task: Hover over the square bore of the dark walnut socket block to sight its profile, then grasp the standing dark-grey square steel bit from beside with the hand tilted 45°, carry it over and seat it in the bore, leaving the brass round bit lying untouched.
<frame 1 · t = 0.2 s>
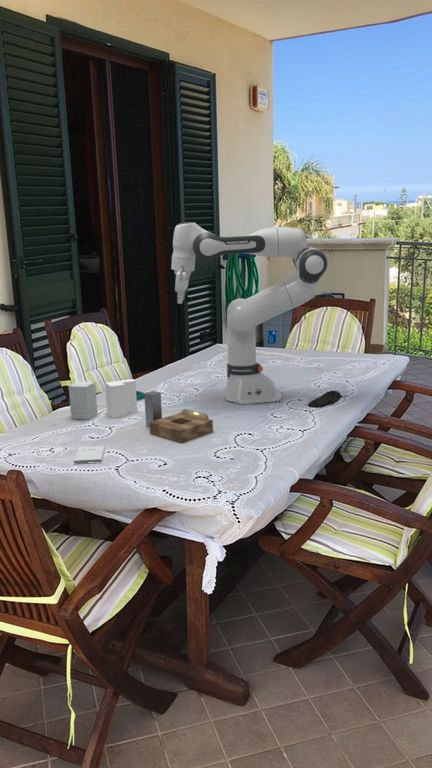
hand: (180, 301, 252), 39 cm above the table, tool pointing down, fingers open, 8 cm apart
corner bracket: (121, 412, 247), on the table
external hard drive: (90, 458, 202), on the table
round bit: (194, 422, 233), on the table
square bit: (154, 426, 229), on the table
digital multimeter: (127, 402, 263), on the table
dark elongated pod: (327, 402, 255), on the table
socket block: (181, 432, 222), on the table
supplement box: (84, 417, 242), on the table
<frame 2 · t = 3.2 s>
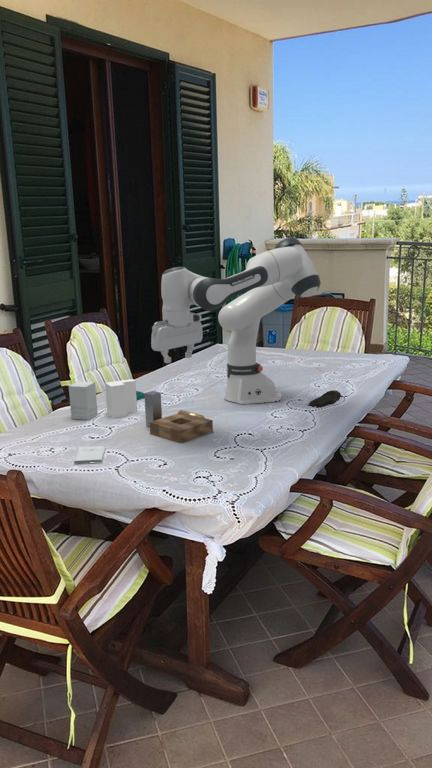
hand: (178, 360, 215), 25 cm above the table, tool pointing down, fingers open, 8 cm apart
round bit: (194, 419, 233), point 1 cm above the table, tilted 59°
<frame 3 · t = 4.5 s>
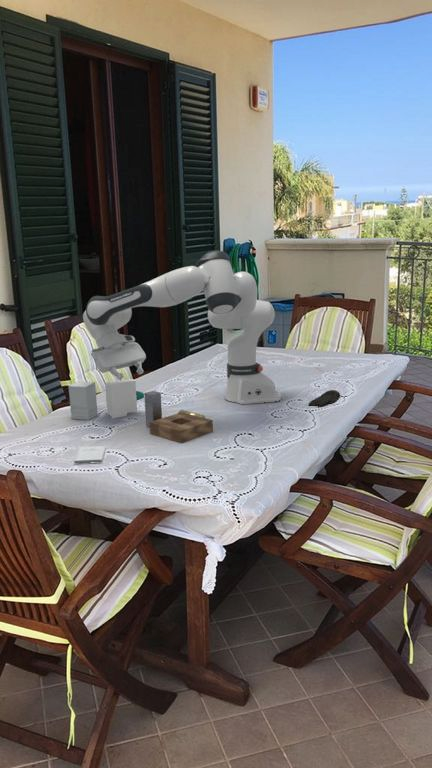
hand: (131, 375, 232), 17 cm above the table, tool tilted 45°, fingers open, 8 cm apart
round bit: (194, 420, 233), on the table, tilted 49°
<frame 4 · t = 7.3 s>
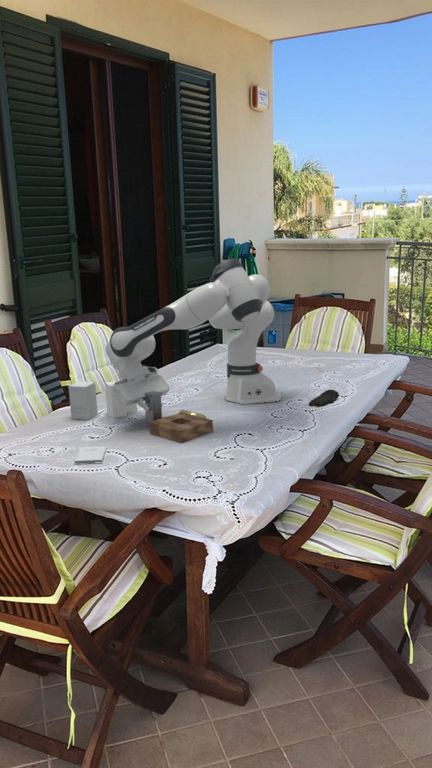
hand: (154, 408, 227), 6 cm above the table, tool tilted 45°, fingers closed on square bit, 4 cm apart
round bit: (194, 421, 233), on the table, tilted 37°
square bit: (154, 426, 229), on the table, touching gripper
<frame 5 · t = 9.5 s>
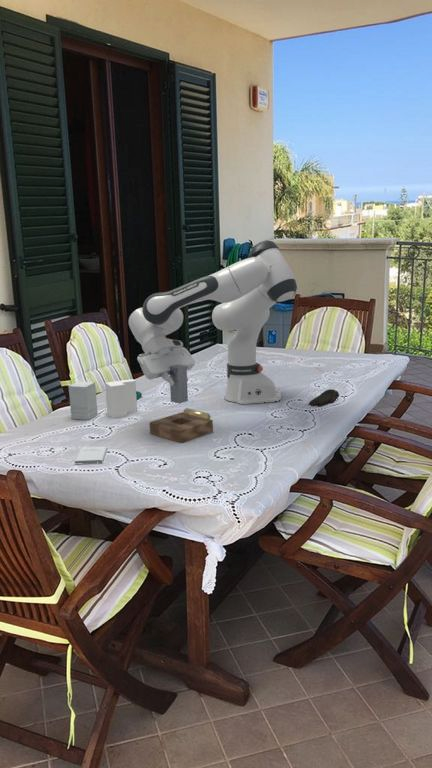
hand: (180, 382, 217), 17 cm above the table, tool tilted 45°, fingers closed on square bit, 4 cm apart
round bit: (194, 421, 233), on the table, tilted 27°
square bit: (179, 401, 219), point 11 cm above the table, touching gripper
when the fingers open (8 cm above the table, at t = 12.0 s): square bit drops 2 cm, resting in socket block.
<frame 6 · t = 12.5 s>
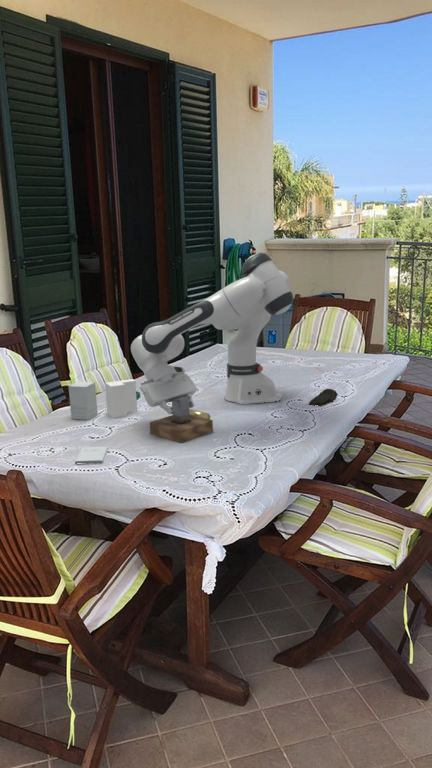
hand: (182, 409, 219), 8 cm above the table, tool tilted 45°, fingers open, 8 cm apart
square bit: (181, 432, 222), resting in socket block
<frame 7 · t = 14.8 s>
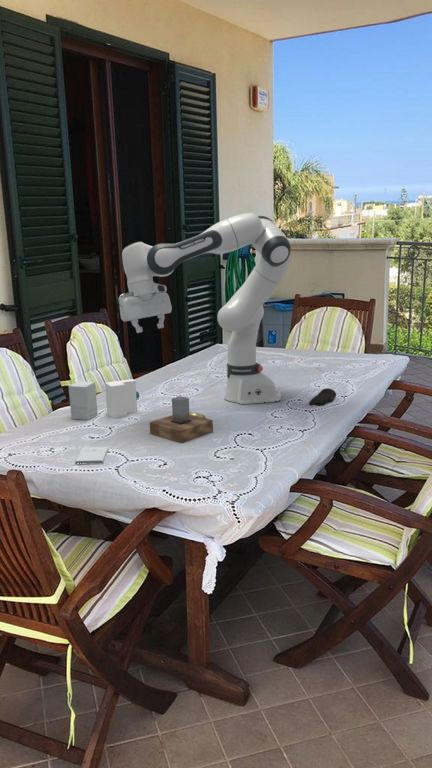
hand: (150, 330, 226), 33 cm above the table, tool pointing down, fingers open, 8 cm apart
round bit: (194, 420, 233), on the table, tilted 45°
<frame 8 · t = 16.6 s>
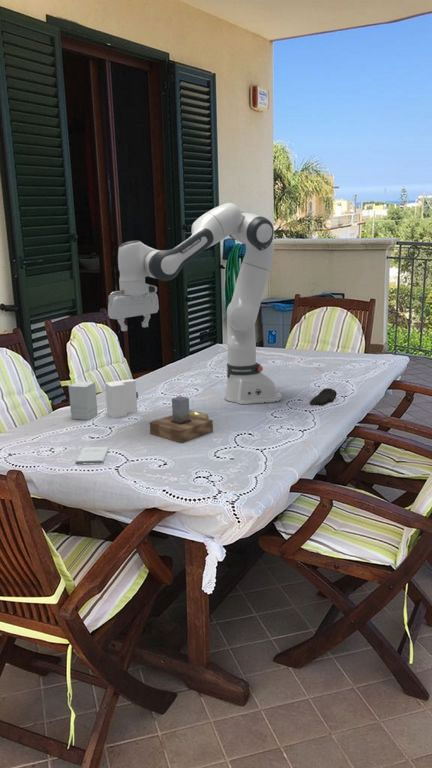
hand: (134, 328, 229), 33 cm above the table, tool pointing down, fingers open, 8 cm apart
round bit: (194, 422, 233), on the table
at the end: square bit 0.0 cm off-centre on the socket block, point 0.0 cm above the socket block's base; square bit tilted 0°; the gripper is holding nothing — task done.
